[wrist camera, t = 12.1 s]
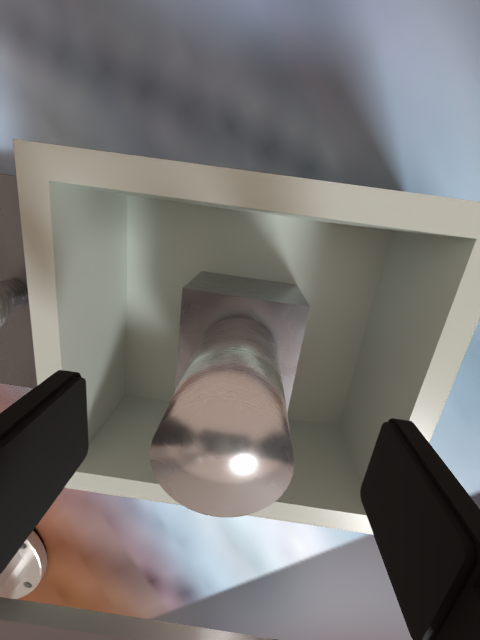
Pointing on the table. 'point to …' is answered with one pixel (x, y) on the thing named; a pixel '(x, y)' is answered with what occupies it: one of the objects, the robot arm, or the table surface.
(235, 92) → the table surface
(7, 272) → the stud base
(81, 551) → the table surface
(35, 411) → the robot arm
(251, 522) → the table surface
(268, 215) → the bin
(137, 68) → the table surface
